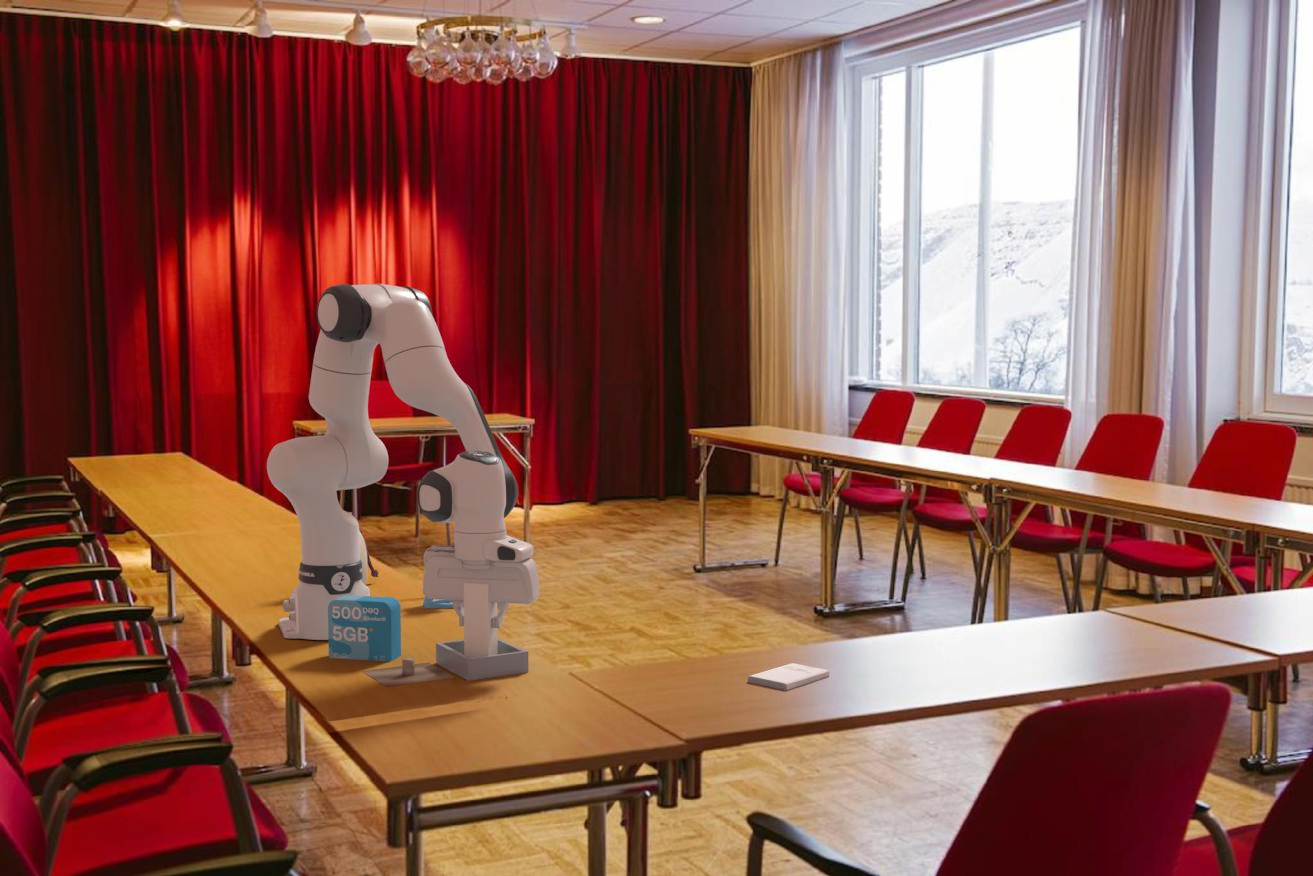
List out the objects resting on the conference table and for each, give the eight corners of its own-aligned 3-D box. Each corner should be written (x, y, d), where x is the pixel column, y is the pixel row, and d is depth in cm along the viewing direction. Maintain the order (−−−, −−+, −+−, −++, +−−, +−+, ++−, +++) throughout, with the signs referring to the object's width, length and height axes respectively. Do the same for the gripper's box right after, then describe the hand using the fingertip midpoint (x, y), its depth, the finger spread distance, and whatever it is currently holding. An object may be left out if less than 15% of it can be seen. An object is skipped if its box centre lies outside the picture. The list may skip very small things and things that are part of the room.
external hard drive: (747, 684, 229) (790, 671, 238) (786, 693, 223) (829, 678, 233) (747, 675, 229) (790, 661, 238) (786, 683, 223) (829, 669, 233)
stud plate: (362, 679, 230) (361, 656, 230) (428, 670, 236) (428, 648, 236) (386, 696, 220) (386, 671, 219) (455, 686, 226) (455, 662, 226)
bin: (436, 671, 236) (436, 643, 235) (494, 663, 241) (493, 635, 241) (468, 689, 224) (468, 659, 223) (528, 680, 230) (528, 651, 229)
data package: (328, 666, 240) (327, 599, 239) (339, 660, 244) (338, 594, 243) (391, 670, 237) (390, 602, 236) (401, 664, 241) (400, 597, 240)
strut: (464, 664, 231) (463, 582, 230) (473, 658, 235) (473, 578, 234) (488, 665, 230) (488, 584, 229) (497, 659, 234) (497, 579, 233)
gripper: (416, 547, 230) (417, 627, 231) (530, 552, 226) (530, 633, 227) (431, 541, 236) (431, 619, 238) (542, 546, 232) (542, 626, 233)
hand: (481, 626), depth 232 cm, fingers closed on strut, 4 cm apart
